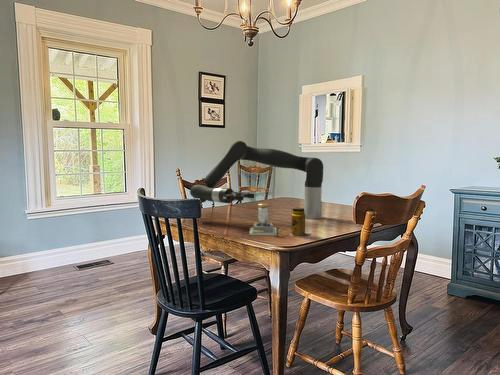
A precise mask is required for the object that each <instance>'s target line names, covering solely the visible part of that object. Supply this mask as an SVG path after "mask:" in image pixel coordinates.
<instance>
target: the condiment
mask: <svg viewBox="0 0 500 375" xmlns="http://www.w3.org/2000/svg"><path fill="white" fill-rule="evenodd" d="M291 211H292V214H291V227H290V228H291V233H290V234H288V236H291V237H292V236H293V237H298V238H299V237H300V238H303V237H306V236H309V235H310V233H308V232H306V218H305V212H304V207H293V208H292V210H291Z"/></svg>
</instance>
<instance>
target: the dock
mask: <svg viewBox="0 0 500 375" xmlns="http://www.w3.org/2000/svg"><path fill="white" fill-rule="evenodd" d="M273 225H274V224H273V223H272V222H268V226H258V222H254V223H253V226H251V227H250V228H249V234H248V235H249V236H273V237H274V236H278V235H277V228H276V227H274V226H273Z"/></svg>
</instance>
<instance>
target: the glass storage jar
mask: <svg viewBox="0 0 500 375" xmlns="http://www.w3.org/2000/svg"><path fill="white" fill-rule="evenodd" d="M269 205H270V204H269V203H267V202H266V203H265V202H263V203H261V202H260V203H258V204H257V208H258V210H257V211H258V214H257V218H258V219H257V223H258V226H268V223H269Z"/></svg>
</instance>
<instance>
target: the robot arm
mask: <svg viewBox="0 0 500 375" xmlns="http://www.w3.org/2000/svg"><path fill="white" fill-rule="evenodd" d="M239 160H240V161H241V160H242V161H251V162H256V163H259V164H262V165H265V166H266V165H267V166H270V167H275V168H280V169H293V170H298V171H302V172H304V173H306V178H305V181H304V197H303V198H304V200H303V201H304V202H303V204H304V205H303V208H304V212H305V219H310V220H311V219H312V220H315V219H316V220H317V219H322V217H323V216H322V215H323V214H322V212H323V209H322V208H323V201H322V187H323V186H322V184H323V181H324V163H323V161H322V160H321V158H317V157H307V156H305V157H304V156H299V155H296V154H292V153H290V152H287V151H285V150H281V149H275V148H256V147H253V146H252V147H251V146H249V145H247V143H246V142H244V141H242V140H237V141H234V142H233V143H232V144H231V145H230V148H229V150H228V151H227V152H226V154H225V155H224V157H223V158H222V159H221V160H220V162H218V163H217V165H216V166H214V167H213V169H211V170H210V172H209V173H207V175H206V176H204V179H203V183H204V185H202V184H195V185H193V186H191V188H190V190H189V193H190V196H191V197H192V198H193V199H195V198H200V199H201V203H200V204H204V203H205V202H207V201H208V202H214V203H220V204H232V202H235V201H244V199H255V194H254V193H250V192H249V191H248V192H247V191H246V192H245V191H234V190H233V189H232V188H231V187H216V186H217V185H218V184H219V183H220V182H221V181H222V179H223V178H224V177H225V176H226V174H227V173H228V171H229V170H230V169H231V168H232V167H233V166H234V165H235V164H236V163H237V162H238V161H239Z"/></svg>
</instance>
